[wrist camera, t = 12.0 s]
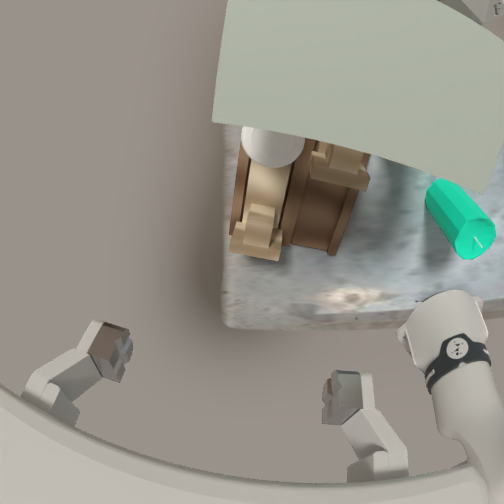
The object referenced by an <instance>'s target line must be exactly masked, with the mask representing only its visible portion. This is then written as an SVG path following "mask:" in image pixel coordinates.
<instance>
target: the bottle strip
mask: <svg viewBox="0 0 504 504" xmlns="http://www.w3.org/2000/svg"><path fill="white" fill-rule="evenodd" d="M291 165H292V163H290V164H288V165H286V166H283V167H278V168H269V167H265V166H262V165H259V164H257V163H256V162H254V161H253V160H252V159H251V166H250V172H249V179H248V186H247V192H246V199H245V206H244V213H243V220H242V222H238V221H237V222H236V225H235V228H234V231H233V234H232V237H231V240H230V247H229V252H232V253H238V254H243V255H248V256H253V257H258V258H264V259H269V260H274V261H278V260H279V257H280V253H281V244H282V232H283V230H280V229H277V228H278V224H279V219H280V215H281V210H282V206H283V201H284V197H285V192H286V188H287V183H288V178H289V174H290V169H291Z"/></svg>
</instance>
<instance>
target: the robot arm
mask: <svg viewBox="0 0 504 504" xmlns="http://www.w3.org/2000/svg"><path fill="white" fill-rule="evenodd" d="M482 307H483V299H482V297H478V296H471V295H470V294H468V293H467V292H465V291H462V290H449V291H445V292H441V293H439V294H436V295H434V296H432V297H430V298H429V299H427V300H426V301H424V302H423V303H422V304H420V305H419V306H418V307H417V308H416V309H415V310H414V311H413V313H412V314H411V315H410V317H409V319H408V320H407V322H406V323H405V324H404V325H403V326H401V327H400V328H399V329H398V330H397V332H396V335H397V338H398V339H399V340H400V342H401V343H402V345H403V346H404V347H405V349H406V350H407V352H408V353H409V354H410V356H411V357H412V359H413V361H414V364H415V365H417V367H418V368H419V369H420V370H421V371H422V372H423V373H424V374H425V379H426V386H427V388H428V391H429V393H430V394H431V395H432V400H433V405H434V411H435V417H436V423H437V429H438V431H439V433H440V434H441V435H442V436H443V437H445V438H447V439H451V440H458V441H460V443H461V444H462V445H463V447H464V449H465V452H466V455H467V460H466V461H464V462H462V463H460V464H458V465H456V466H454V467H451V468H449V469H445V470H441V471H436V472H432V473H427V474H421V475H416V476H410V477H409V473H408V456H407V448H406V446H405V445H404V444H403V442H402V441H401V440H400V438H399V437H398V435H397V434H396V433H395V431H394V430H393V429H392V427H391V426H390V424H389V423H388V422H387V421H386V419H385V418H384V416H383V415H382V413H381V412H380V411H379V410H378V409H375V400H374V390H373V381H372V375H371V374H370V373H366V372H355V371H341V370H335V371H333V372H332V374H331V378H330V379H327V381H326V382H325V384H324V387H323V392H322V400H323V402H324V403H325V407H324V408H323V409H322V424H331V425H341V428H342V429H343V431H344V433H345V435H346V437H347V438H348V440H349V442H350V444H351V446H352V448H353V449H354V451H355V453H356V455H357V457H358V458H359V461H357V462H355V463H353V464H351V465H350V466H349V467H348V468H347V483H294V482H293V483H292V482H279V481H267V480H258V479H249V478H243V477H236V476H230V475H223V474H218V473H213V472H208V471H203V470H199V469H194V468H190V467H186V466H182V465H178V464H174V463H170V462H166V461H163V460H160V459H156V458H153V457H150V456H147V455H143V454H140V453H138V452H135V451H132V450H129V449H126V448H123V447H121V446H118V445H115V444H113V443H110V442H108V441H105V440H103V439H101V438H98V437H96V436H94V435H91V434H89V433H87V432H85V431H82V430H80V429H78V428H76V427H75V424H76V421H77V419H78V416H79V414H80V412H79V409H78V408H77V407H76V406H75V405H74V404H73V403H72V401H74V400H75V399H76V398H78V397H79V396H80V395H81V394H83V393H84V392H85V391H86V390H88V389H89V388H90V387H91V386H93V385H94V384H95V383H96V382H98V381H99V380H100V379H102V377H104V378H107V379H110V380H112V381H116V382H119V383H120V381H121V379H122V377H123V374H124V372H125V367H124V364H125V363H127V362H129V360H130V357H131V355H132V351H133V343H132V340H131V339H130V338H129V335H130V333H129V330H128V329H126V328H123V327H120V326H116V325H113V324H110V323H107V322H104V321H101V320H98V319H94V320H93V321H92V322H91V323H90V325H89V327H88V329H87V330H86V332H85V334H84V336H83V338H82V339H81V341H80V343H79V345H78V346H77V348H76V349H75V348H72V349H71V350H69V351H68V352H66V353H64V354H62V355H61V356H59V357H57V358H56V359H54V360H52V361H51V362H49V363H47V364H46V365H44V366H43V367H41V368H39V369H37V370H36V371H34V372H33V373H32V375H31V377H30V379H29V381H28V383H27V385H26V386H25V388H24V390H23V392H22V394H21V396H18V395H17V394H15V393H14V392H12V391H11V390H9V389H8V388H6V387H5V386H3V385H2V384H0V504H504V404H503V401H502V399H501V397H500V394H499V391H498V389H497V386H496V383H495V380H494V377H493V374H492V371H491V368H490V366H491V361H490V356H489V353H488V351H487V349H486V346H485V342H486V340H487V337H488V331H487V328H486V325H485V323H484V320H483V317H482V314H481V310H482Z"/></svg>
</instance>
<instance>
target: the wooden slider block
mask: <svg viewBox="0 0 504 504" xmlns="http://www.w3.org/2000/svg"><path fill="white" fill-rule="evenodd" d="M317 151H318V152H315V151H312V152H311V156H310V160H309V169H310V177H311V179H316V180H320V181H325V182H329V183H333V184H337V185H342V186H346V187H350V188H354V189H358V190H361V191H365V192H366V190H367V187H368V184H369V181H370V176H369V175H368V173H367V171H366V169H365V168H364V166H363V164H362V163H361V160H362V157H363V153H364V152H361V151H358V150H354V149H350V148H346V147H343V146H339V145H335V144H331V143H327V142H322V141H319V143H318V147H317Z"/></svg>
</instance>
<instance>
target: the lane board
mask: <svg viewBox="0 0 504 504" xmlns="http://www.w3.org/2000/svg"><path fill="white" fill-rule="evenodd" d="M318 143H319V141H318V140H314V139H309V138H305V144H304V148H303V150H302V152H301V154H300V155H299V157H298V158H297V159H296V160H295V161H293V162H292V165H291V169H290V174H289V178H288V183H287V188H286V192H285V197H284V201H283V206H282V210H281V215H280V219H279V224H278V228H277V229H280V230H283V232H282V244H281V245H285V246H290V243H292V244H297V245H302V246H307V247H312V248H317V249H322V250H327V254H331V255H336V252H337V249H338V247H339V244H340V241H341V239H342V236H343V233H344V231H345V228H346V225H347V222H348V220H349V217H350V214H351V211H352V208H353V205H354V202H355V199H356V196H357V193H358V189H354V188H350V187H346V186H342V185H337V184H333V183H329V182H325V181H320V180H316V179H311V177H310V169H309V160H310V156H311V152H312V151H315V152H318V151H317V147H318ZM369 156H370V154H368V153H365V152H364V153H363V157H362V160H361V163H362V164H363V166H364V168H365V169H366V166H367V162H368V159H369ZM250 166H251V158H250V157H249V156H248V155H247V154H246V152H245V150H244V148H243V146H242V142H241V144H240V151H239V158H238V166H237V174H236V181H235V189H234V197H233V205H232V214H231V222H230V230H229V235H232V234H233V231H234V228H235V225H236V222H237V221H238V222H242V220H243V213H244V206H245V199H246V192H247V186H248V179H249V172H250Z"/></svg>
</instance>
